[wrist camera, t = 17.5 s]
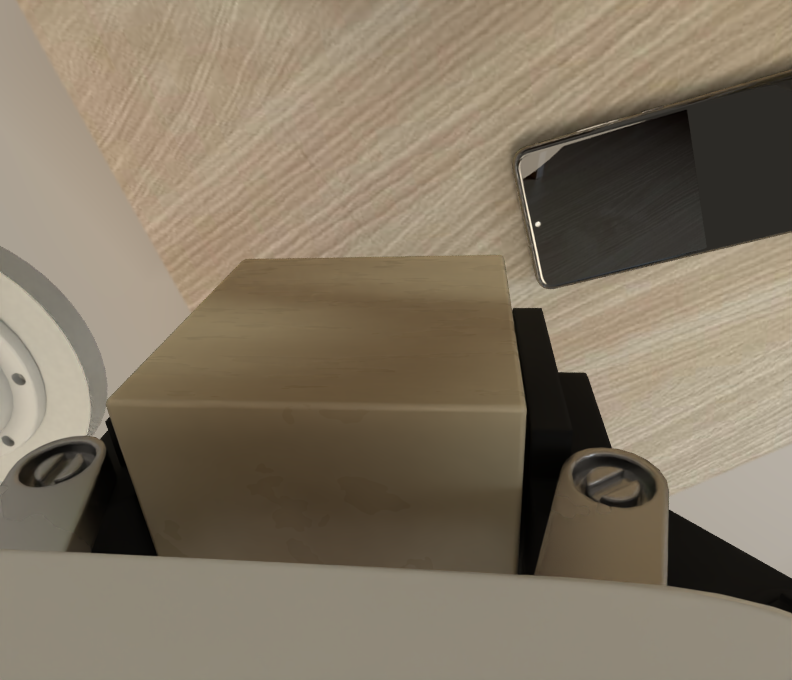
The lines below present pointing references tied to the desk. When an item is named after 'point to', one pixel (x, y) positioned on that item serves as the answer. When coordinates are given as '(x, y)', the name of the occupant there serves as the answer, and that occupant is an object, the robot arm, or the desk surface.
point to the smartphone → (660, 184)
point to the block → (336, 417)
